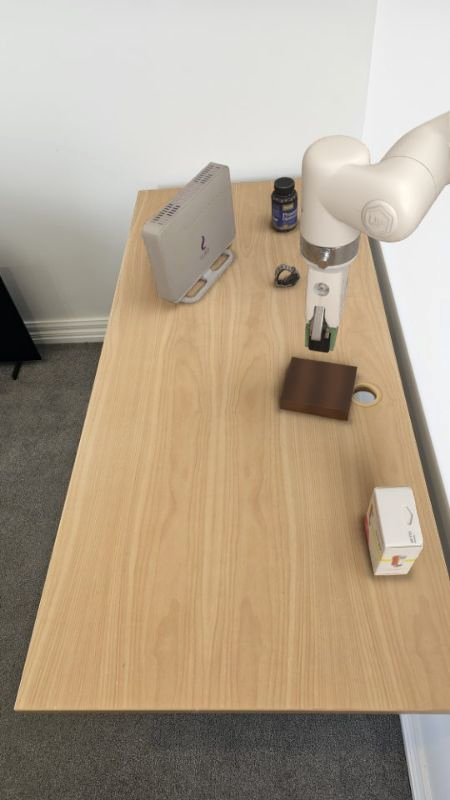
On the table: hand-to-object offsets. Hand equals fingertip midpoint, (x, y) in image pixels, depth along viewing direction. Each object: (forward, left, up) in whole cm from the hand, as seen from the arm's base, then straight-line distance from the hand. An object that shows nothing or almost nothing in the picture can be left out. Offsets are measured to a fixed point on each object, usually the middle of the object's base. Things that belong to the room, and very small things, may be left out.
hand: (321, 337), depth 79 cm
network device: (+32, -28, -15) cm, 45 cm away
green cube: (0, 0, 0) cm, 0 cm away
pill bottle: (+17, -48, -15) cm, 53 cm away
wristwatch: (+12, -28, -15) cm, 34 cm away
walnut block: (0, 0, -15) cm, 15 cm away
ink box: (-15, +26, -15) cm, 33 cm away
